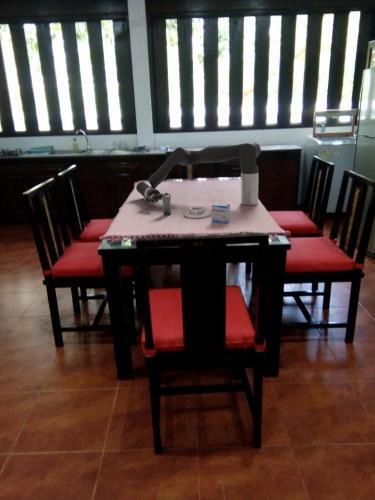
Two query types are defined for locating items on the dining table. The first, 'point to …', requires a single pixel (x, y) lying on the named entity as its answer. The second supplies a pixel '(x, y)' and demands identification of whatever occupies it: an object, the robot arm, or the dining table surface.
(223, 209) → the medicine box
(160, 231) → the dining table surface
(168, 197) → the steel pin
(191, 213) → the rosette plate
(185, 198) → the dining table surface
